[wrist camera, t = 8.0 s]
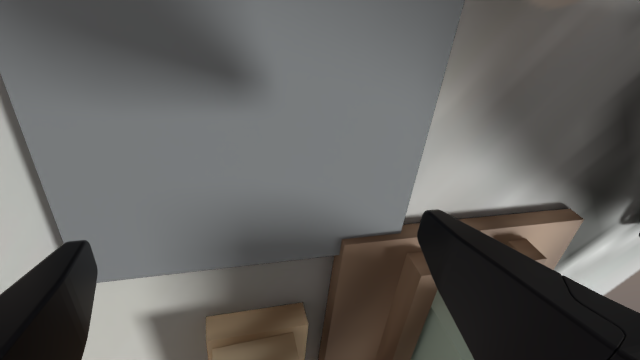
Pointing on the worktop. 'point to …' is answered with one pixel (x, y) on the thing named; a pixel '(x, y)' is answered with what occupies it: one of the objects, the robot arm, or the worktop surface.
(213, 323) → the offcut lower
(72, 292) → the robot arm
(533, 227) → the rack
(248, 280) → the worktop surface
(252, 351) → the offcut upper
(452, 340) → the sage green block
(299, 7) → the mat
